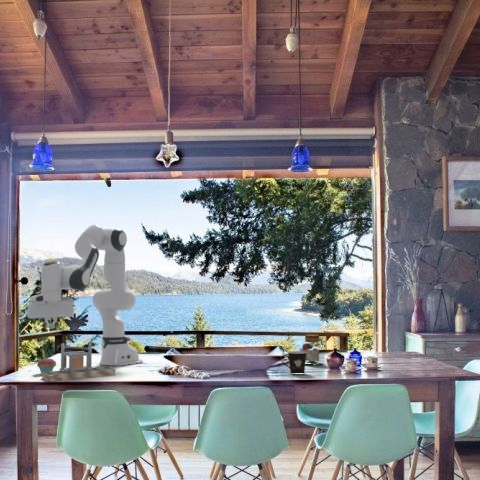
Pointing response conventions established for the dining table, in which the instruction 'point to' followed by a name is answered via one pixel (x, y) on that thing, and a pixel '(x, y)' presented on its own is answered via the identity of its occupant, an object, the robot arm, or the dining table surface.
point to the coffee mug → (296, 361)
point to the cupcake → (46, 364)
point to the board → (78, 374)
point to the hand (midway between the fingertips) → (50, 327)
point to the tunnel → (73, 354)
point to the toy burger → (311, 354)
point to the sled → (76, 360)
